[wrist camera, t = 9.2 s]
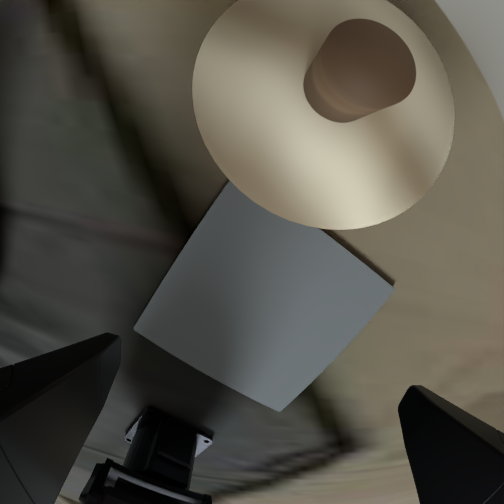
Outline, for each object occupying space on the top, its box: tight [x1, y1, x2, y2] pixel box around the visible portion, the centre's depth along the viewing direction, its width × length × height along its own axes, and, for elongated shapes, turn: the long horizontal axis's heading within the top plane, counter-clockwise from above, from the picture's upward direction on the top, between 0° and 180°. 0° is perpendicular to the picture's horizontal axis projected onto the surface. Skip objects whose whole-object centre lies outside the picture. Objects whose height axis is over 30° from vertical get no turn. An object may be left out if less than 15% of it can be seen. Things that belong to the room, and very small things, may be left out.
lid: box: [192, 0, 455, 230], centre depth 10 cm, size 12×12×5 cm
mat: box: [133, 180, 395, 412], centre depth 20 cm, size 13×13×1 cm
